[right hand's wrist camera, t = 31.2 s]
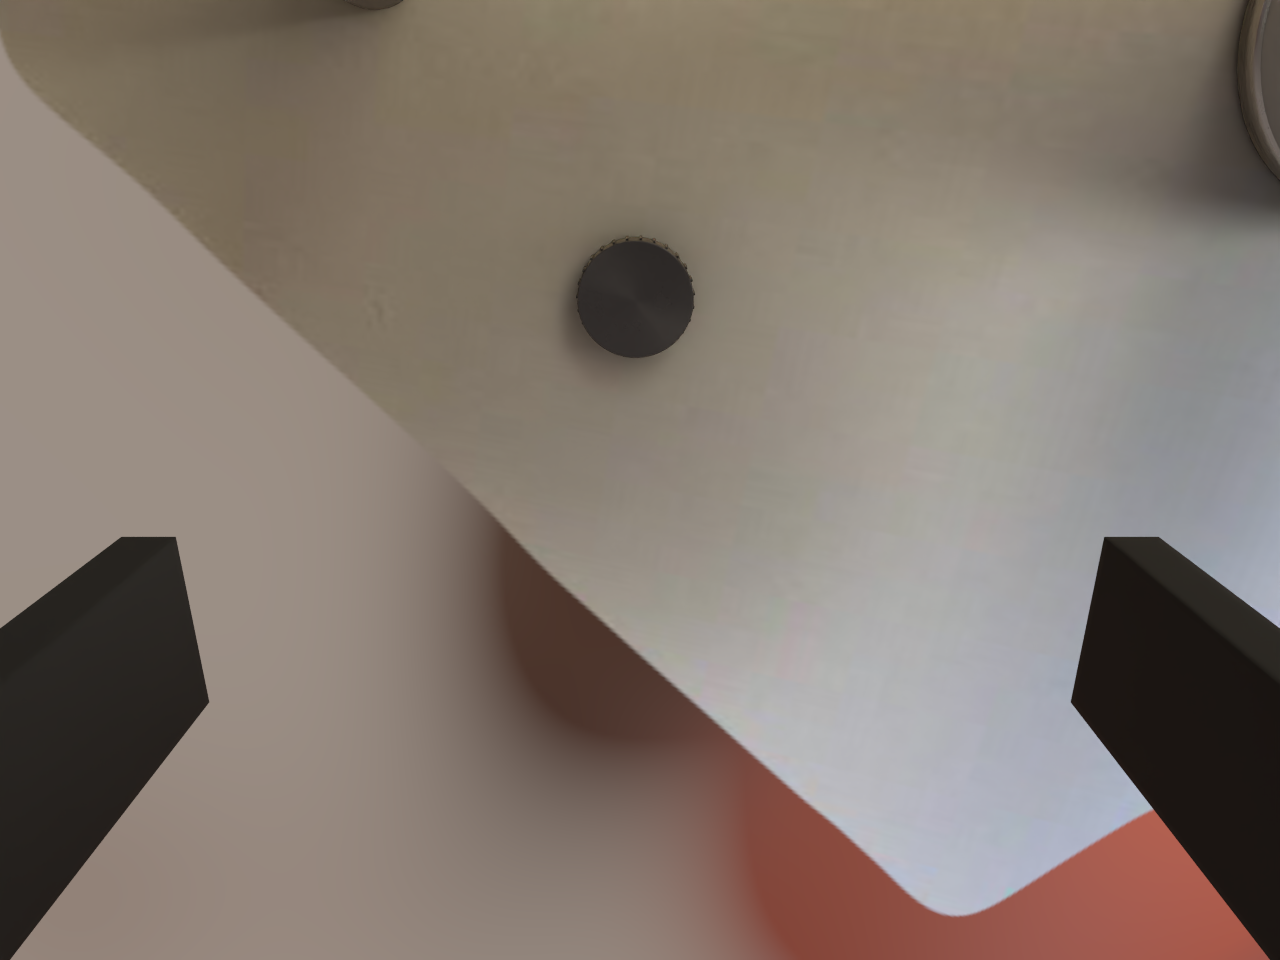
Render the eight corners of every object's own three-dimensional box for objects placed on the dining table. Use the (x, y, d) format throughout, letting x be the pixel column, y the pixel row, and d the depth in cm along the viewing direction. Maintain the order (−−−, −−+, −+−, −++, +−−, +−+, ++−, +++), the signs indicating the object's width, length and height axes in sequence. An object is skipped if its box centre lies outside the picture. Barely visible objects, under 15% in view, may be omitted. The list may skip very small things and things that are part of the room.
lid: (673, 219, 40) (674, 222, 38) (707, 330, 41) (710, 338, 40) (562, 256, 40) (559, 261, 39) (600, 365, 42) (599, 374, 40)
